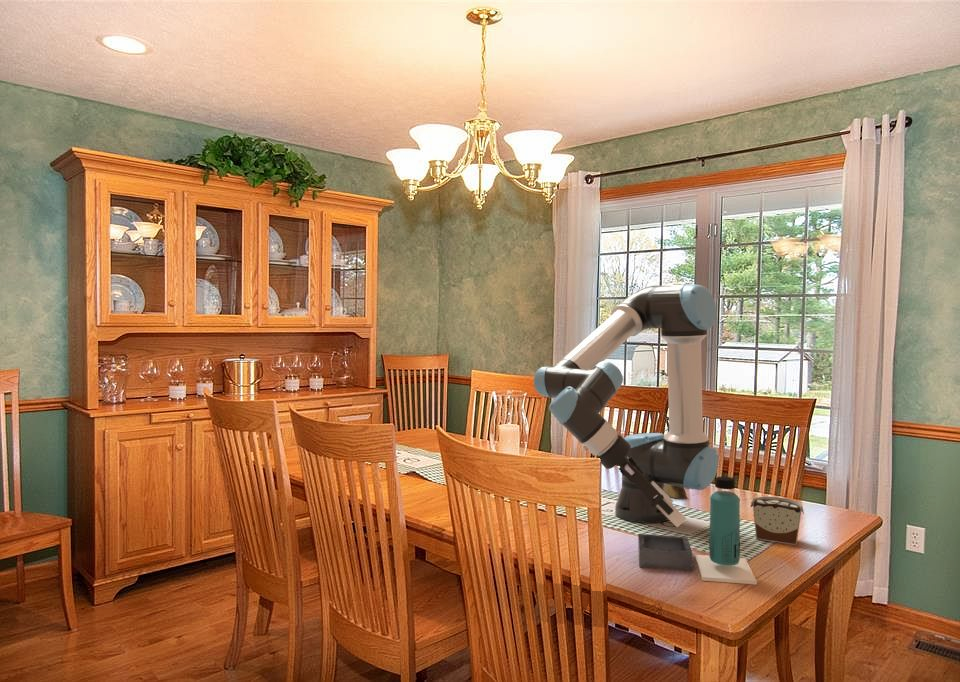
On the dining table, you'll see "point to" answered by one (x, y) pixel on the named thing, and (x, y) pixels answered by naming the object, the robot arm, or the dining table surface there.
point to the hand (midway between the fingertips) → (675, 513)
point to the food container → (777, 519)
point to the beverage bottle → (724, 524)
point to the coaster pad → (725, 571)
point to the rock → (674, 491)
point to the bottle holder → (664, 552)
